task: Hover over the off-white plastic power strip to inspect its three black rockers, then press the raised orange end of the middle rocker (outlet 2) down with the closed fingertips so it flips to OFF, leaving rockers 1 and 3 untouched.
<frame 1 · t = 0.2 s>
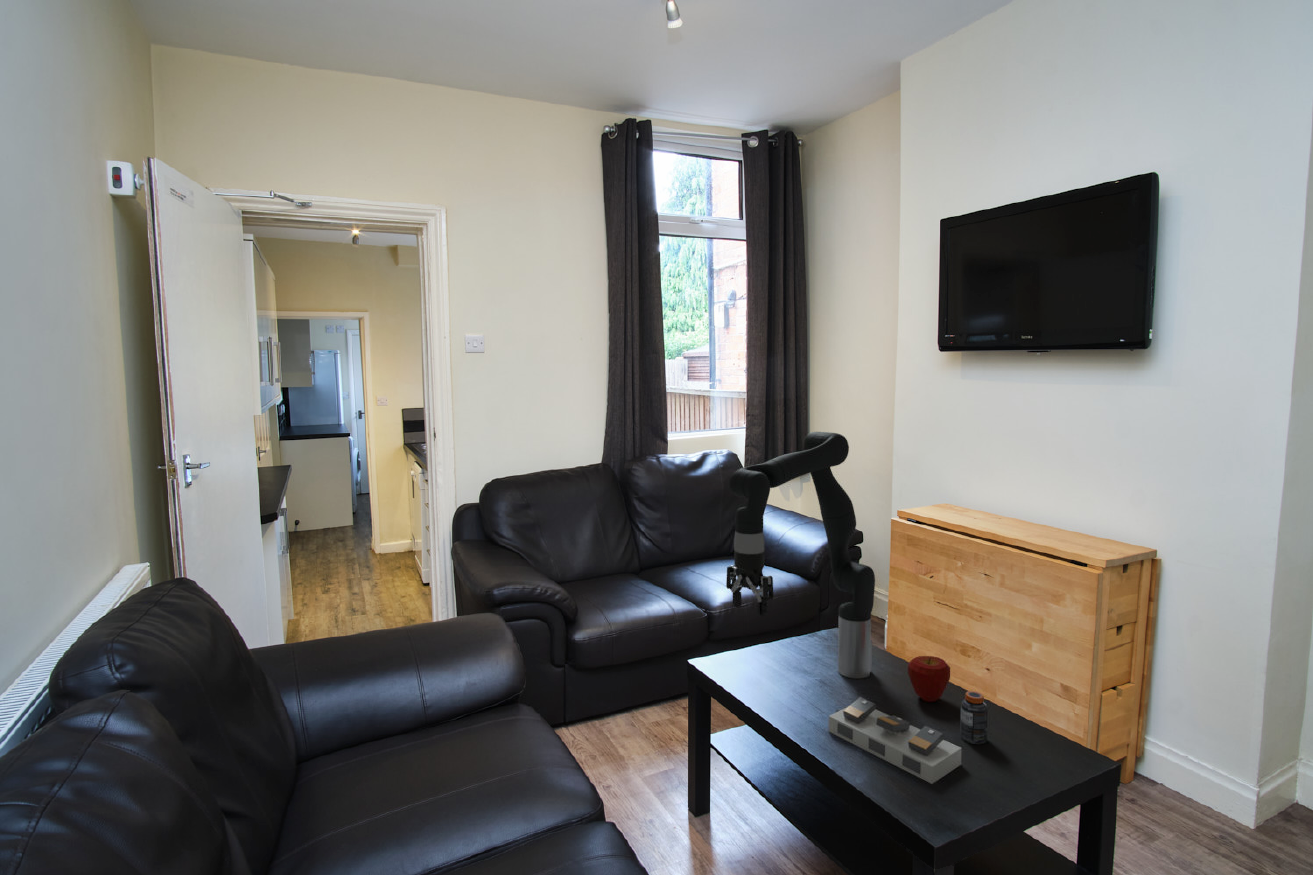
hand: (749, 610, 174), 29 cm above the table, fingers open, 8 cm apart
rocker 3: (925, 740, 156), point 6 cm above the table, hinge at 13.0°
apple: (928, 699, 187), on the table
rocker 2: (893, 723, 163), point 6 cm above the table, hinge at -13.0°
power strip: (891, 747, 163), on the table
rocker 1: (859, 709, 170), point 6 cm above the table, hinge at 13.0°
pill bottle: (973, 739, 167), on the table
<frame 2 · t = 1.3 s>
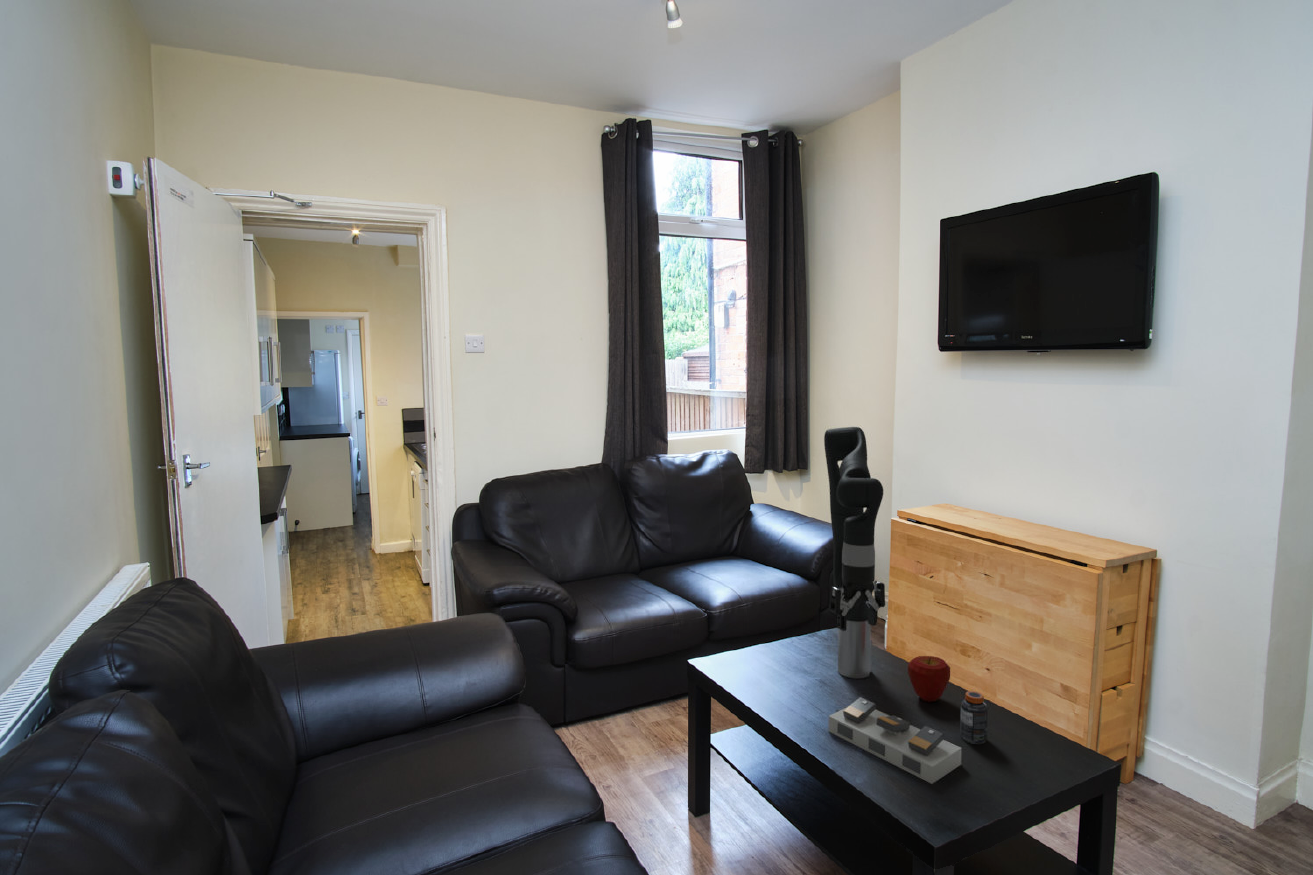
hand: (857, 627, 164), 29 cm above the table, fingers open, 8 cm apart
nothing on the table moved.
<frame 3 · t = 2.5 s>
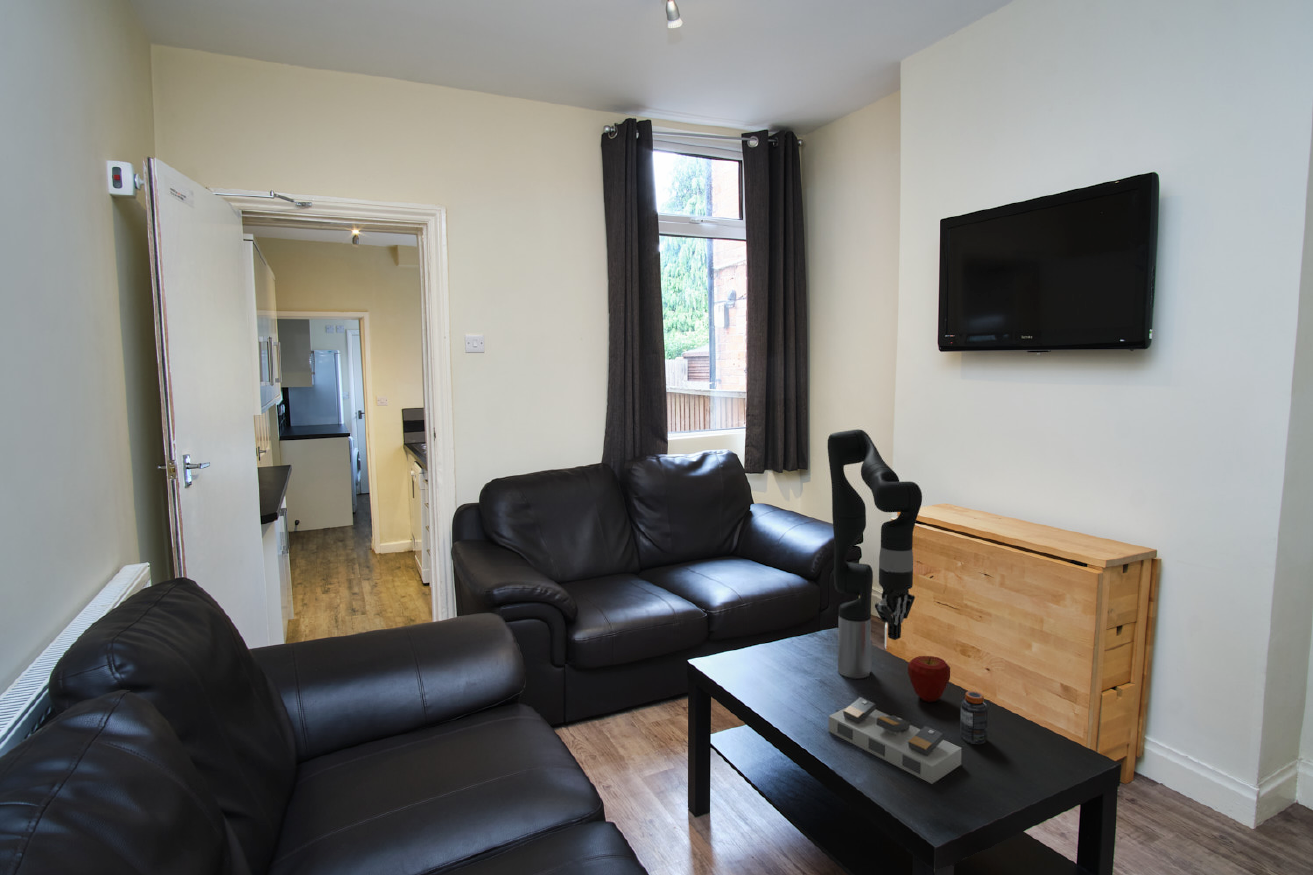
hand: (894, 638, 161), 27 cm above the table, fingers closed
nothing on the table moved.
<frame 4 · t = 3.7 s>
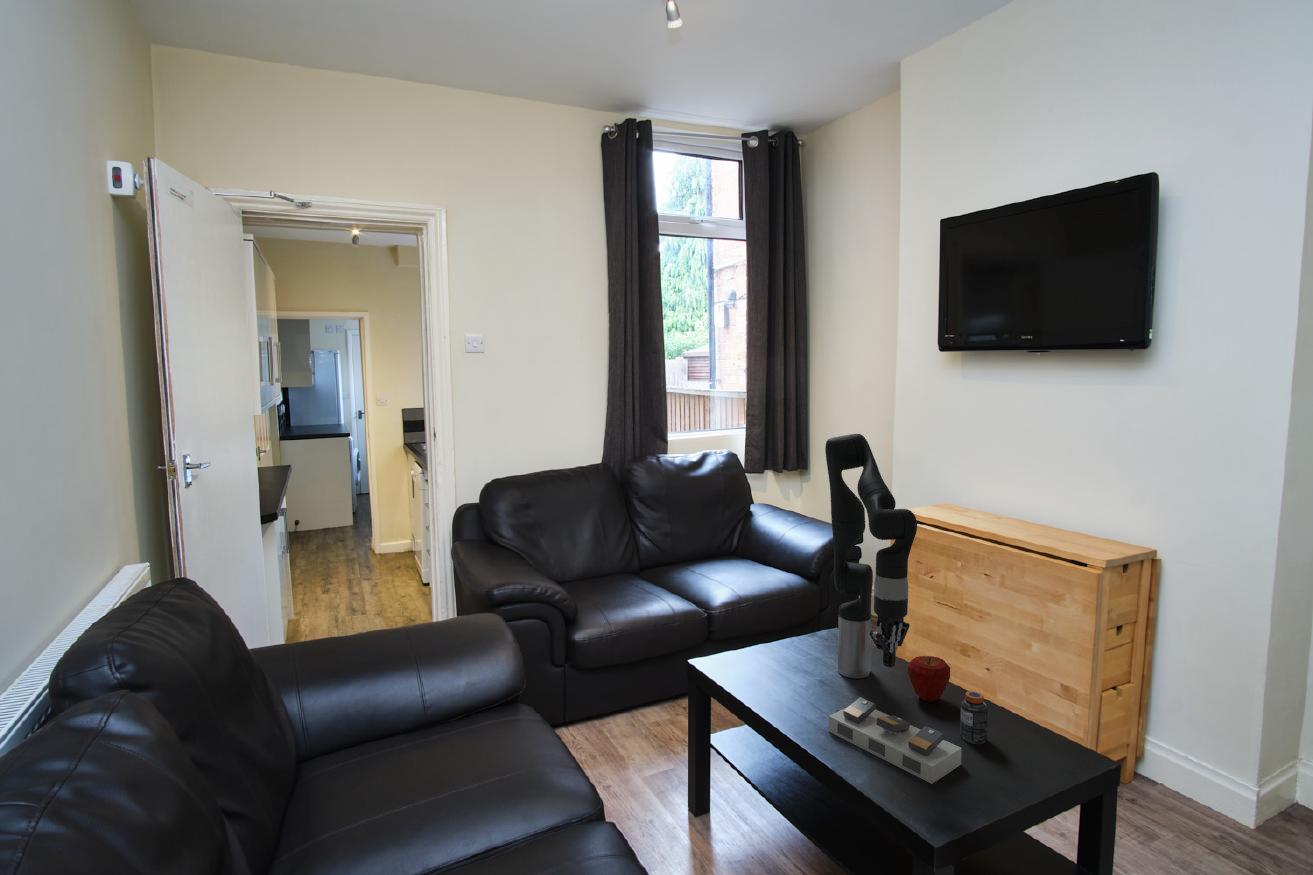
hand: (889, 665, 160), 21 cm above the table, fingers closed
nothing on the table moved.
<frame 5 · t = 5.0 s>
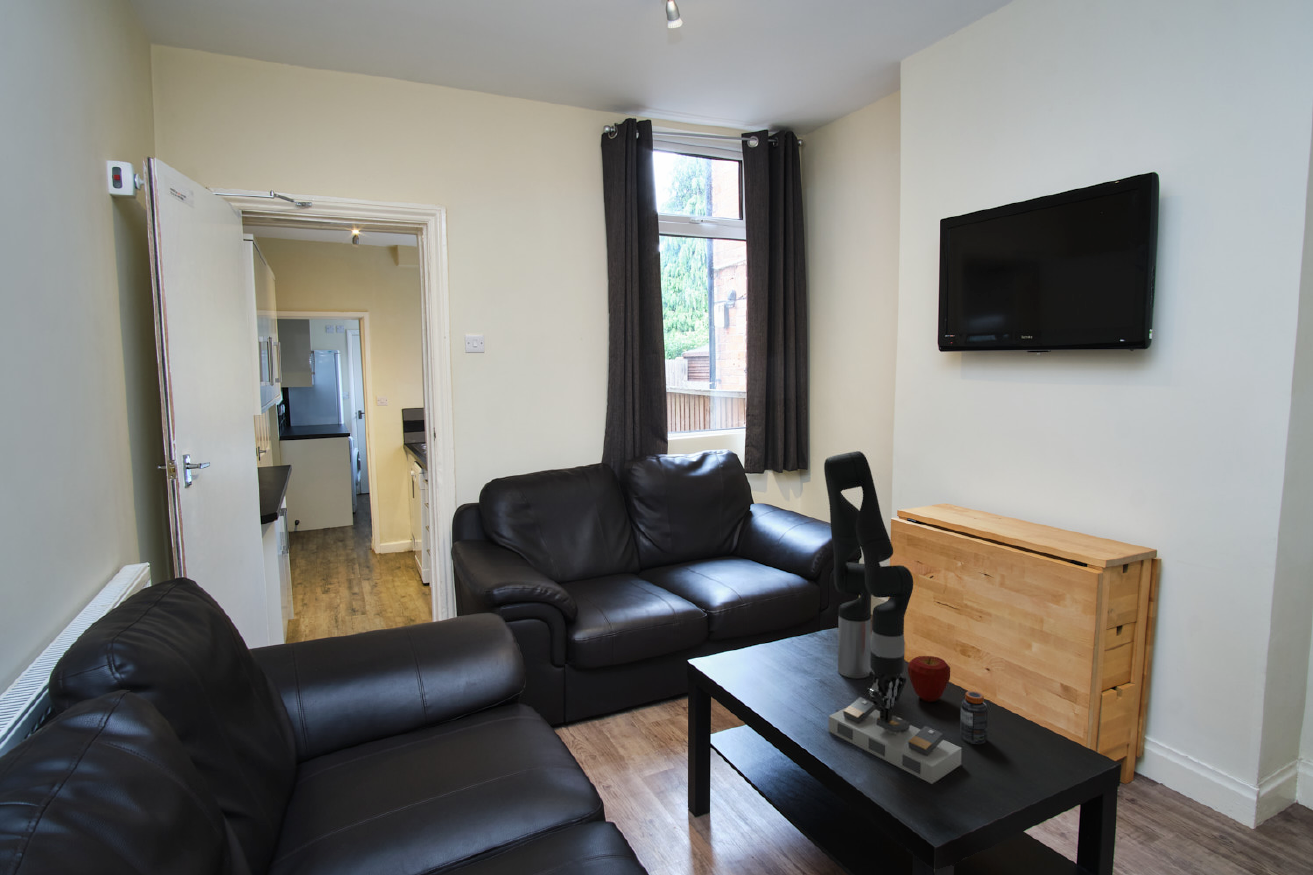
hand: (885, 720, 161), 7 cm above the table, fingers closed
rocker 2: (893, 723, 163), point 6 cm above the table, hinge at -12.9°, touching gripper
everything else where it was.
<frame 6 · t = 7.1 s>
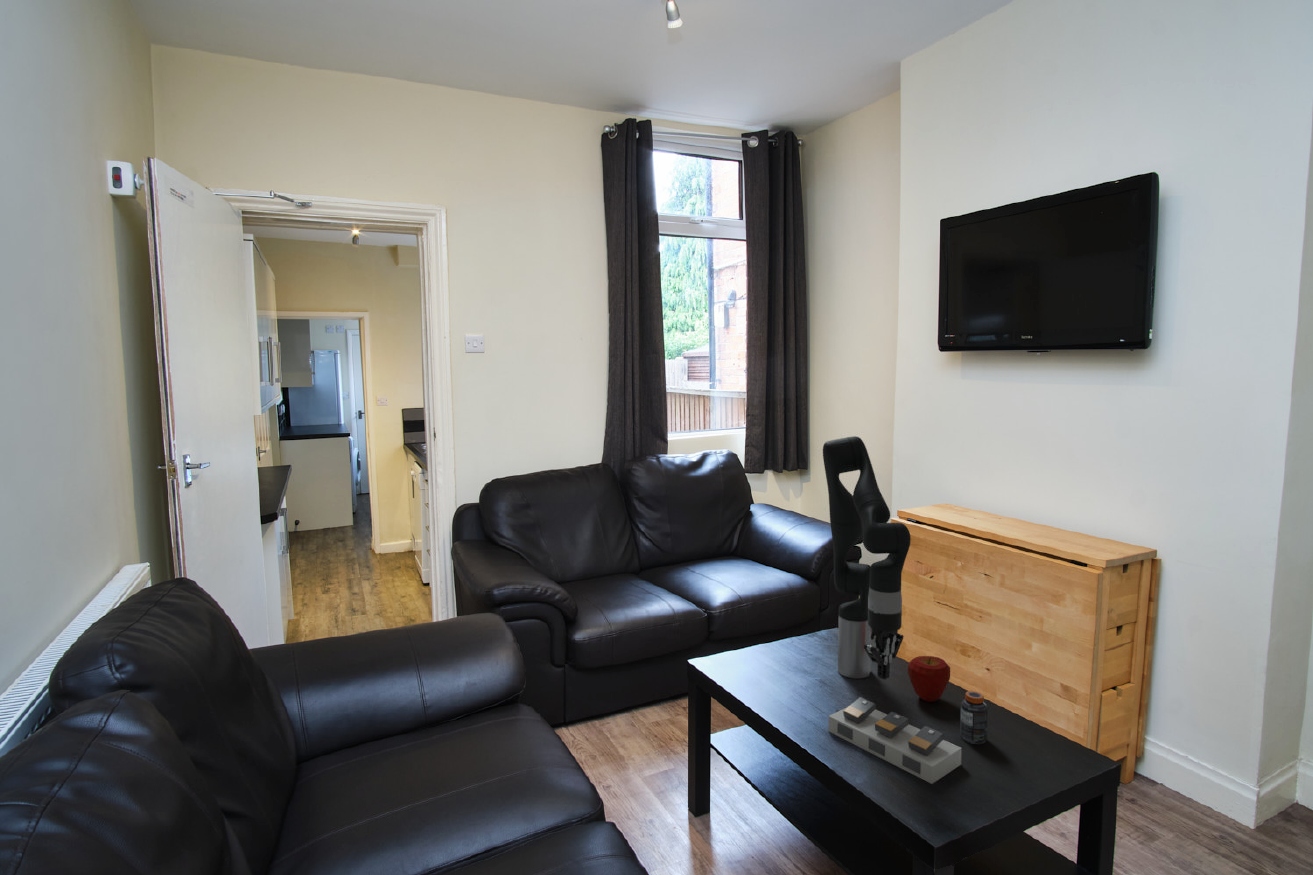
hand: (883, 677, 162), 17 cm above the table, fingers closed
rocker 2: (891, 723, 163), point 6 cm above the table, hinge at 7.6°
everything else where it was.
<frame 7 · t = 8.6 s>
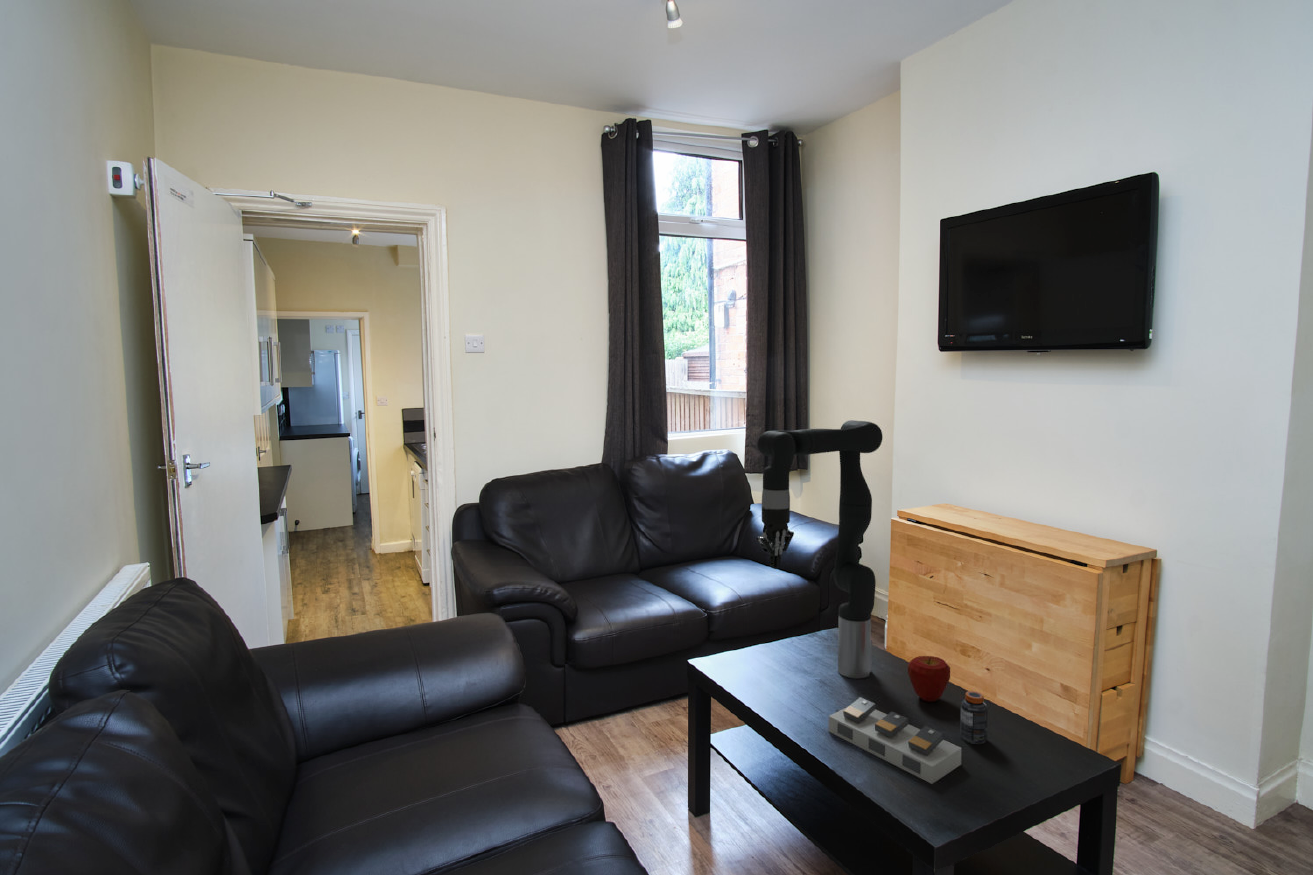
hand: (775, 567, 186), 37 cm above the table, fingers closed
rocker 2: (891, 723, 163), point 6 cm above the table, hinge at 8.3°
everything else where it was.
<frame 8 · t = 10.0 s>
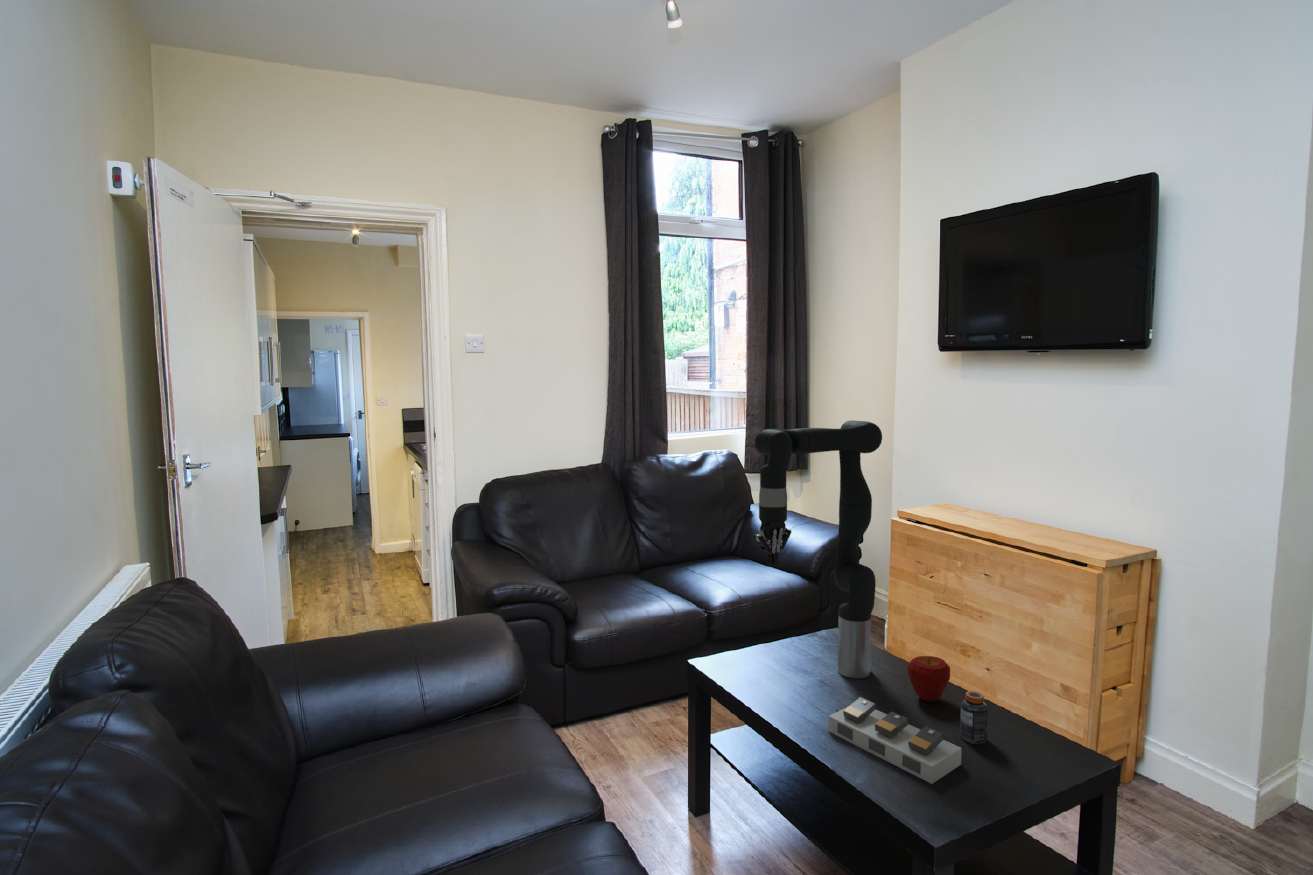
hand: (772, 565, 187), 37 cm above the table, fingers closed
nothing on the table moved.
at the end: rocker 2 at +8° (first picture: -13°); rocker 1 at +13° (first picture: +13°); rocker 3 at +13° (first picture: +13°) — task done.
